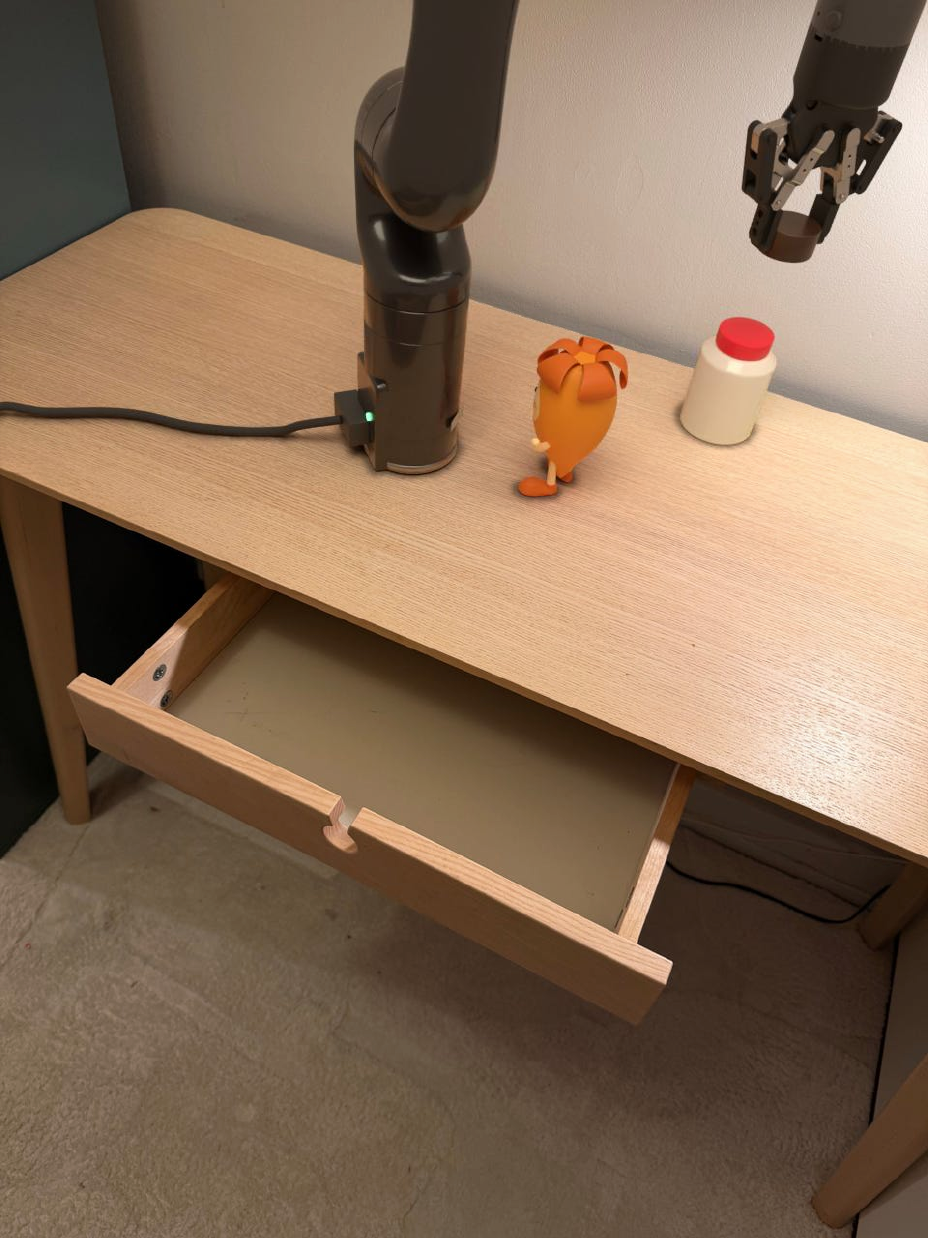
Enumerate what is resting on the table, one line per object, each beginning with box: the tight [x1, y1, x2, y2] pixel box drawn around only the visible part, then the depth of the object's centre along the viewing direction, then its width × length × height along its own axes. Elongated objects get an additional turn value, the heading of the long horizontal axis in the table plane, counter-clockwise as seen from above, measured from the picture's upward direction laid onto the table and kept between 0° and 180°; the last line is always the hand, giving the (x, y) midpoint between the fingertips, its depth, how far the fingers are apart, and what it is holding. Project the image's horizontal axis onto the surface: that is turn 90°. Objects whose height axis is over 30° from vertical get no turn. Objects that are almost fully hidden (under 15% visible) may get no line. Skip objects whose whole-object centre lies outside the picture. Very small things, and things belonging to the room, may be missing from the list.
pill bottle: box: [679, 316, 778, 446], centre depth 94 cm, size 8×8×11 cm
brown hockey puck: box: [759, 209, 822, 264], centre depth 80 cm, size 5×5×2 cm
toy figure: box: [518, 335, 629, 497], centre depth 83 cm, size 12×8×15 cm, turn 143°
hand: (785, 242), depth 81 cm, fingers closed on brown hockey puck, 5 cm apart
